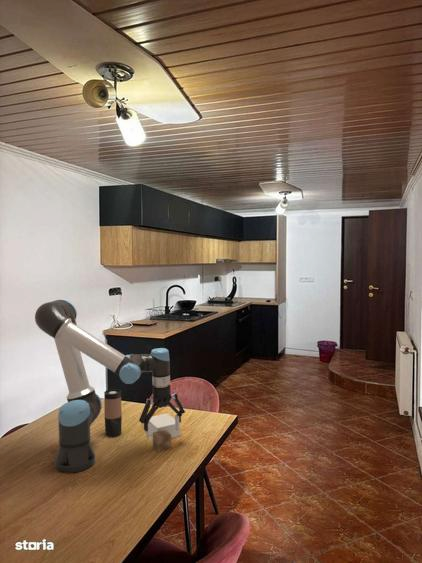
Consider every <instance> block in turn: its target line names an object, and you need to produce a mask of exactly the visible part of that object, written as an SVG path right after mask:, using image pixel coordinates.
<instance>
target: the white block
mask: <svg viewBox="0 0 422 563" xmlns="http://www.w3.org/2000/svg"><path fill="white" fill-rule="evenodd" d="M149 423H150V437H151V436H152V438H153V432H158V431H162V430H167V431H168V432H169V433H170V434H171V439H174V438H177V437H180V436H181V430H180V431H177V430H175V417H173V416H172V415H170V414H169V413H163V414H158V415H153V416H152V417H151V419H150V421H149ZM179 426H180V427H181V423H179Z"/></svg>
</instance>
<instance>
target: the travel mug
mask: <svg viewBox="0 0 422 563" xmlns="http://www.w3.org/2000/svg"><path fill="white" fill-rule="evenodd" d="M103 394H104V396H103V397H104V398H103V399H104V402H103V403H104V426H105V427H104V430H105V431H104V432H105V433H104V434H105V436H106V437H107V438H116V437H119V436H121V435H122V422H123V421H122V419H123V418H122V413H123V412H122V390H121V389H119V388H117V389H116V388H110V389H106V390H105V391H104V392H103Z"/></svg>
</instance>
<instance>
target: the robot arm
mask: <svg viewBox="0 0 422 563" xmlns="http://www.w3.org/2000/svg"><path fill="white" fill-rule="evenodd" d="M77 316H78V311H77V309H76V307H75V305H74V304H73V303H72V302H71V301H69V300H66V299H56V300H53V301H48V302H45V303H43V304H41V305H40V306H39V307H38V308H37V309H36V310H35V314H34V322H35V324H36V326H37V327H38V328H39V329H40V330H41V331H43V333H45V334H47V335H48V336H49V337H51V338H53V340H54V342H55V347H56V350H57V354H58V357H59V361H60V364H61V368H62V372H63V375H64V379H65V382H66V386H67V389H68V394H67V396H66V400H67V402H66V403H65V402H64V403H63V404H62V405H61V406H60V407H59V409H58V415H57V419H58V442H59V443H58V444H59V445H58V449H57V453H56V457H55V458H54V468H55V470H56V471H57V472H59V473H65V474H72V473H78V472H83V471H86V470H87V469H89V468H91V467H92V466H93V465H94V464H95V463H96V453H95V450H94V448H93V445H92V442H91V426H92V424H93V423H94V422H95V420H96V419H97V418H98V417H99V415H100V413H101V410H102V407H103V406H102V399H101V397H100V396H99V395H98V394H97V393H96V391H95V387H93V386H91V384H90V382H89V379H88V375H87V372H86V371H87V370H86V368H85V363H84V361H83V357H82V354H84V355H86V356H87V357H89V358H91V359H92V360H94V361H96V362H97V363H99V364H100V365H102V366H103V367H105V368H107V369H108V370H110V371H111V372H113V373H115V374H116V375H118V376H119V379H120V381H122V383H124V384H126V385H127V384H128V385H133V384H134V383H136V381H137V380H138V379H139V378H141V375H142V373H152V374H151V375H152V376H151V378H152V379H151V380H152V383H151V384H152V398H146V399H145V404H144V407H143V410H142V412H141V414H140V417H139V420H138V421H139V423H140V424H143V430H144V432H145V434H146V435H145V437H146V438H147V439H148V440H151V435H150V423H149V421H150V419H151V417H152V416H154V414H155V413H156V412H157V410H158V409H162V408H166V407H167V406H169V408H170V409H171V410H172V411H173V412H174V413H176V414H174V419H175V430H177V431H180V432H181V425H180V426H179V423H180V424H181V423H182V416H183V414H185V413H186V411H185V409H184V407H183V405H182V404H181V401H180V399H179V396H178V393H176V392H173V393H172V394H171V392H172V391H171V366H170V365H171V364H170V360H171V359H170V353H169V352H170V351H169V349H167V348H165V347H160V348H159V347H158V348H153V349H151V352H150V353H149V354H147V353H144V354H143V353H142V354H138V353H137V354H134V353H131V354H126V355H125V354H124V353H122V352H120V351H119V350H117V349H115V348H114V347H112V346H111V345H109V344H107V343H105V342H104V341H102V340H100V339H99V338H98V337H96V336H94V335H93V334H91V333H89V332H88V331H87V330H85V329H83V328H82V327H80V326H78V325H77V321H76V320H77ZM171 400H173V401H174V403H175V405H176V407H177V408H178V409H177V408H176V407H175V405H173V404H172V402H171Z"/></svg>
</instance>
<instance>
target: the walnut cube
mask: <svg viewBox="0 0 422 563" xmlns="http://www.w3.org/2000/svg"><path fill="white" fill-rule="evenodd" d="M172 442H173V441H172V438H171V434H170V433H169V432H168V431H167V430H162V431H158V432H153V437H152V446H153V448H154V449H155V450H157V452H161V451H162V450H163V451H165V450H166V449H167V450H170V449H172ZM167 450H166V451H167Z"/></svg>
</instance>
